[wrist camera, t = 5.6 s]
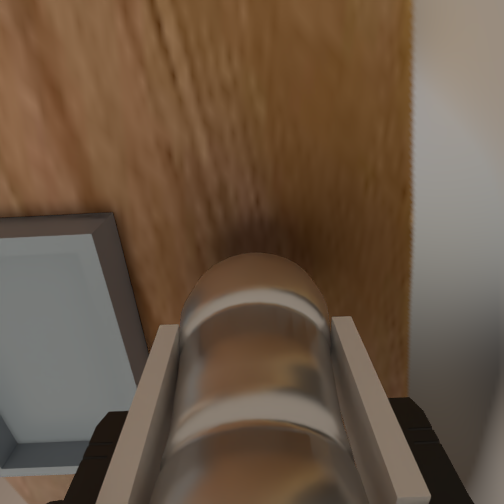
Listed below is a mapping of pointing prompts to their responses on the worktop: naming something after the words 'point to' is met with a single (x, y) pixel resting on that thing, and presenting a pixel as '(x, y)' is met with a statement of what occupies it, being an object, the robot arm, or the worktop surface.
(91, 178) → the worktop surface
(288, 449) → the plastic bottle
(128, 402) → the tray
